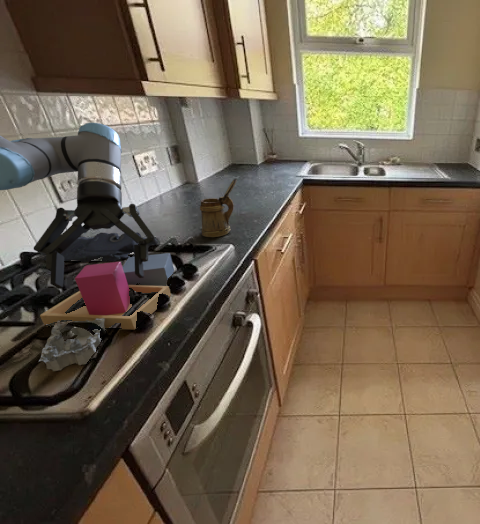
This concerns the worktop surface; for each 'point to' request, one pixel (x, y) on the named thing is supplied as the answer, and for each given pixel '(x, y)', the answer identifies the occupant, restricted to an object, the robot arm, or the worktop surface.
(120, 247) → the dark slate chunk
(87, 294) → the pink block
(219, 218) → the wooden mug
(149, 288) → the tray
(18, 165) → the robot arm
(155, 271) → the grey block
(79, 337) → the grey lumpy chunk
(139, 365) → the worktop surface
